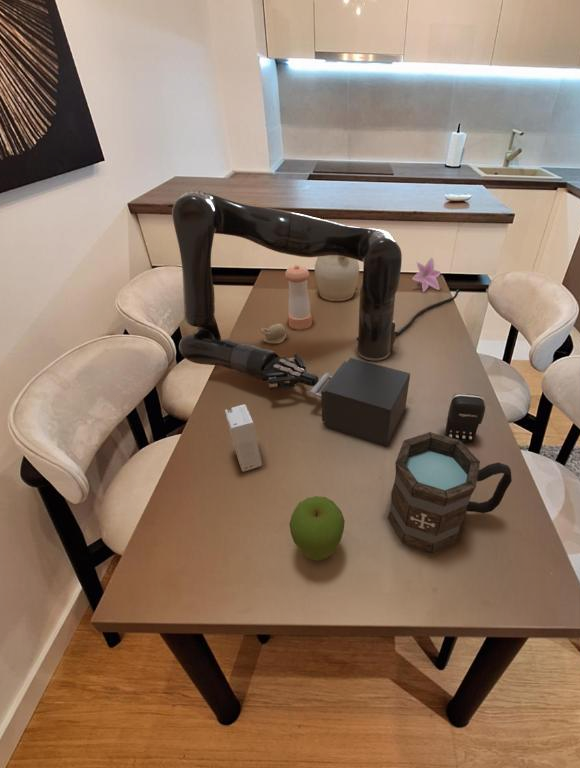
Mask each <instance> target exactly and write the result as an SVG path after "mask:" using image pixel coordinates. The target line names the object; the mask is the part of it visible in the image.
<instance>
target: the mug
mask: <svg viewBox="0 0 580 768" xmlns="http://www.w3.org/2000/svg"><path fill="white" fill-rule="evenodd" d="M394 465H395V476H394V483H393V486H392V490H391V494H390V497H391V498H390V500H391V501H390V508H389V513H388V515H387V520H388V522H389V524H390V525H391V527H392V528H393V530H394V532H395V534H396V535H397V537H398V539H399V540H400V541H401V543H402V544H405V545H407V546H410V547H413V548H416V549H419V550H422V551H425V552H427V553H431V554H433V553H435V552H438V551H440V550H441V549H444V548H446V547H449V546H451V545H453V544H455V543H457V542H458V537H459V532H460V529H461V526H462V524H463V522H464V520H465V518H466V516H467V512H473V513H478V514H486V513H491V512H493V511H494V510H495V509H496V508H498V507H499V505H500V504H501V502H502V500H503V498H504V496H505V494H506V491H507V490H508V488H509V486H510V485H511V483H512V480H513V478H512V470H511V467H510V466H509V465H507V464H504V463H501V462H494V463H490V464H487V465H486V466H484V467H482V468H481V469H480V465H481V461H480V460H479V459H478V458H477V456H475V455H474V454H473V452H472V451H471V450H470V449H469V448H468V447H467V446H466V445H465V443H464V442H461V441H460V440H457V439H454V438H450V437H446V436H445V435H442V434H439V433H436V432H431V431H429V432H425V433H423V434H420V435H417V436H414V437H411V438H408V439H407V438H406V439H404V440H403V442H402V444H401V447H400V449H399V452H398V454H397V458H396V459H395V463H394ZM499 474H503V475H502V477H501V478H500V480H499V481H498V483H497V485H496V488H495V490H494V492H493V495H492V496H491V497H490V498H489V499H488V500H487V501H483V502H476V501H471V500H470V499H471V497H472V495H473V493H474V492H475V490H476V488H477V483H478V482H482V481H484V480H487V479H489V478H491V477H492V476H494V475H499Z"/></svg>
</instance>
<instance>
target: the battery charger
mask: <svg viewBox="0 0 580 768" xmlns="http://www.w3.org/2000/svg"><path fill="white" fill-rule="evenodd" d="M485 412H486V403H485V399H484V398H483V397H482V396H481V395H479V394H471V393H455V394H453V396H452V397H451V399H450V402H449V405H448V410H447V415H446V422H445V427H444V429H443V434H444V436H446V437H450V438H454V439H457V440H460V441H461V442H462V443H473V442H475V440H476V434H477V431H478V428H479V425H481V424H482V422H483V420H484V416H485Z"/></svg>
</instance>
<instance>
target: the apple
mask: <svg viewBox="0 0 580 768" xmlns="http://www.w3.org/2000/svg"><path fill="white" fill-rule="evenodd" d="M288 525H289V531H290V535H291V539H292V540H293V543H294V544H295V546H297V548H298V549H299V550H300V552H301V553H303V555H304V556H305V558H308V559H310V560H313V561H323V560H326V559H327V558H329V557H330V556H331V555H332V554H333V553H334V552H335V551H336V550H337V549H338V546H339V545H340V543H341V540H342V538H343V534H344V531H345V517H344V514H343V512H342V510H341V509H340V508H339V506H338V505H337V504H336V503H335V502H334V500H332V499H330V498H328V497H326V496H319V495H318V496H317V495H315V496H311V497H307V498H305V499H303V500H301V501H299V502H298V504H297V505H296V507H295V508H294V510H293V511H292V514H291V517H290V520H289V524H288Z"/></svg>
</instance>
